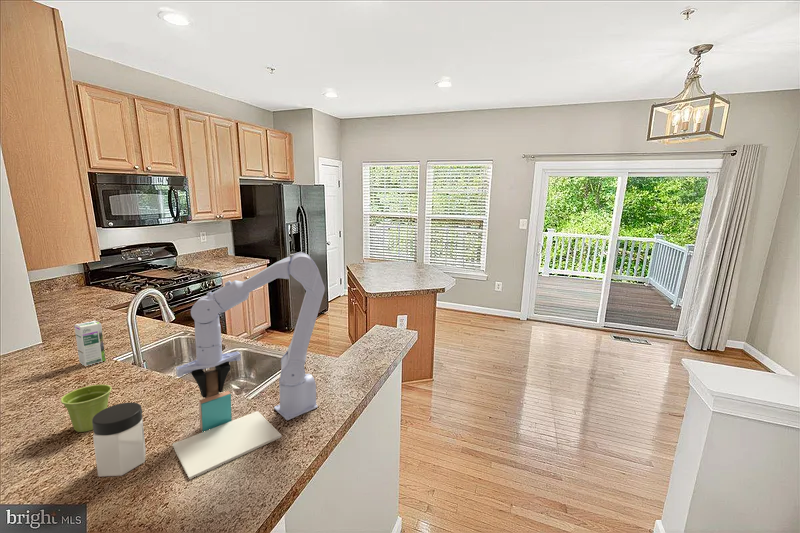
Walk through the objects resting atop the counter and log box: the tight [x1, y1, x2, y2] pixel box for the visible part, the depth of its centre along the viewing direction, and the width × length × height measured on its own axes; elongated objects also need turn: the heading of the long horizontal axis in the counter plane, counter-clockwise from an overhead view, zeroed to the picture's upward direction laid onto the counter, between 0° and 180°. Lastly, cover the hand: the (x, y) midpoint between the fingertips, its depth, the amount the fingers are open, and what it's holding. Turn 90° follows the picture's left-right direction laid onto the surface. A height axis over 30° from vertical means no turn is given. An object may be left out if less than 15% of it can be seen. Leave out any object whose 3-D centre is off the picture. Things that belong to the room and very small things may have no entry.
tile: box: [198, 390, 233, 432], centre depth 87 cm, size 7×2×8 cm, turn 135°
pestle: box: [204, 368, 220, 399], centre depth 88 cm, size 3×3×9 cm
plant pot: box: [60, 384, 113, 433], centre depth 86 cm, size 9×9×9 cm
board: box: [172, 410, 282, 480], centre depth 82 cm, size 20×14×1 cm
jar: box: [92, 402, 147, 478], centre depth 73 cm, size 9×8×12 cm
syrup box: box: [74, 320, 107, 367], centre depth 120 cm, size 6×6×14 cm
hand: (212, 393), depth 89 cm, fingers closed on pestle, 3 cm apart
